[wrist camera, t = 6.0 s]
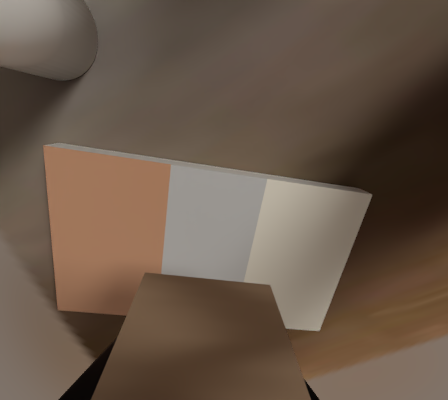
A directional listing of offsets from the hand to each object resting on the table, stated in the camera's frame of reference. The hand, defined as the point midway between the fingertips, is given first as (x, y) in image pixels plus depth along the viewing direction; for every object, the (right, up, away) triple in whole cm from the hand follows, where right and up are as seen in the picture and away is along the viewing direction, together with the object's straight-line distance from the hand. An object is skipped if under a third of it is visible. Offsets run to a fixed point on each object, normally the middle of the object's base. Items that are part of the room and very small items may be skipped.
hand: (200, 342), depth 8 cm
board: (0, +2, +6) cm, 7 cm away
